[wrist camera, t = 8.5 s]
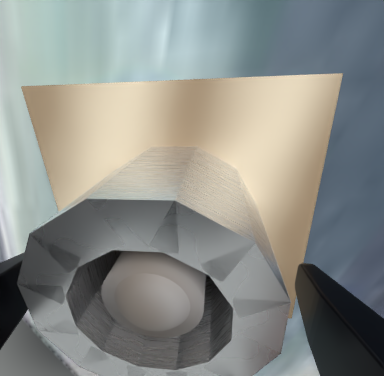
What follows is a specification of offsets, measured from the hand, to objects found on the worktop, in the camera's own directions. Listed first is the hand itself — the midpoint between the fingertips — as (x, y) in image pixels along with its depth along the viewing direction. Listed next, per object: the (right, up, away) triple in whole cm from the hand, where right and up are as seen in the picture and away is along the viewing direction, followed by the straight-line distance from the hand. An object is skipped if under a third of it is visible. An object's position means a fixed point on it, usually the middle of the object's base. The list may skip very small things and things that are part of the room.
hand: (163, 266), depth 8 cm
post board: (0, +2, +4) cm, 4 cm away
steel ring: (0, +1, +3) cm, 3 cm away
